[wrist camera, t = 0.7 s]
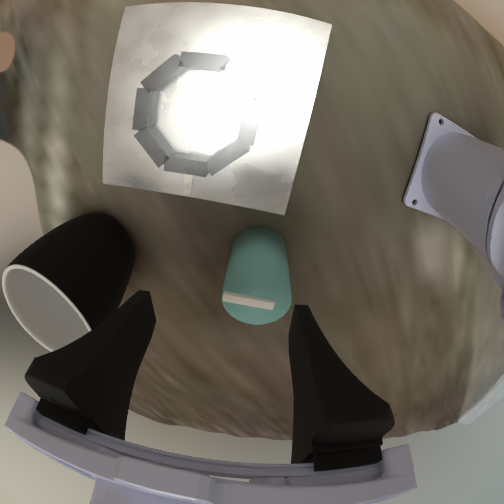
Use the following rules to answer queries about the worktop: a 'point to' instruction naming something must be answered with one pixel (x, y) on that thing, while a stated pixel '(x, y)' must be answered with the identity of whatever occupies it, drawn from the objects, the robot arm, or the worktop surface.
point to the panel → (212, 101)
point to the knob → (257, 277)
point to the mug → (69, 279)
